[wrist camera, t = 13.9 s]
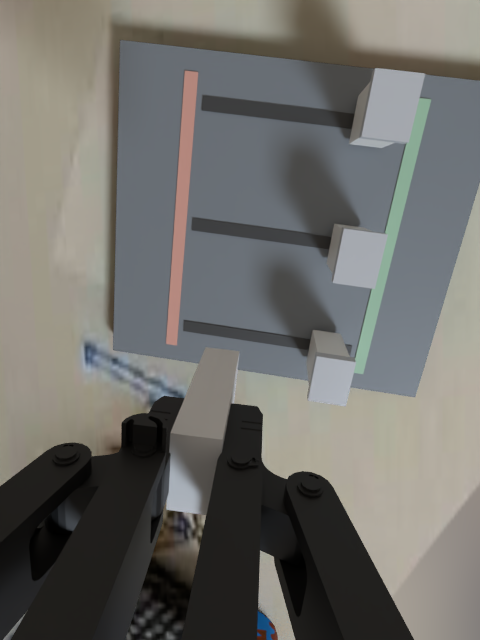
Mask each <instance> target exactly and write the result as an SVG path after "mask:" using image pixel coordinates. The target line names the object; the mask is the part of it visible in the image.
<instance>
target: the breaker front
mask: <svg viewBox="0 0 480 640" xmlns="http://www.w3.org/2000/svg"><path fill="white" fill-rule="evenodd" d="M424 77H425V73H417V72H408V71H399V70H390V69H381V68H375V69H374V70H373V71H372V76H371V81H370V82H369V84H368V85H367V86H366V87H365V88H364V90H363V91H362V92H361V93H360V94H359V96H358V100H357V105H356V110H355V115H354V120H353V125H352V130H351V136H350V141H349V144H352V145H361V146H369V147H377V148H383V147H386V146H388V145H391V144H393V143H402V144H406V143H409V140H410V136H411V131H412V127H413V123H414V119H415V115H416V111H417V106H418V102H419V98H420V94H421V90H422V85H423V81H424Z"/></svg>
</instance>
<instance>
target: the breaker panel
mask: <svg viewBox="0 0 480 640" xmlns="http://www.w3.org/2000/svg"><path fill="white" fill-rule="evenodd" d="M373 70H374V69H372V68H363V67H354V66H345V65H336V64H328V63H319V62H310V61H301V60H292V59H284V58H275V57H266V56H257V55H248V54H240V53H231V52H222V51H213V50H204V49H196V48H187V47H178V46H169V45H160V44H152V43H143V42H134V41H125V40H120V69H119V113H118V157H117V201H116V246H115V290H114V334H113V350H116V351H122V352H128V353H135V354H141V355H148V356H154V357H160V358H167V359H173V360H180V361H186V362H192V363H199V362H200V360H201V357H202V355H203V352H204V350H205V348H206V347H208V348H216V349H225V350H233V351H239V361H238V370H243V371H250V372H256V373H263V374H269V375H275V376H282V377H288V378H295V379H301V380H307V381H309V380H308V373H307V366H306V361H307V356H308V351H309V346H310V341H311V336H312V331H313V330H319V331H325V332H332V333H339V334H341V336H342V339H343V341H344V344H345V346H346V349H347V351H348V354H349V356H350V357H353V358H355V361H356V366H355V370H354V374H353V378H352V382H351V386H350V387H352V388H359V389H365V390H371V391H378V392H384V393H391V394H397V395H403V396H410V397H415V396H416V392H417V389H418V386H419V382H420V379H421V376H422V372H423V369H424V366H425V362H426V359H427V356H428V352H429V349H430V346H431V342H432V339H433V336H434V333H435V329H436V326H437V323H438V319H439V316H440V313H441V309H442V306H443V303H444V299H445V296H446V293H447V289H448V286H449V283H450V279H451V276H452V273H453V269H454V266H455V263H456V259H457V256H458V253H459V249H460V246H461V243H462V239H463V236H464V233H465V230H466V226H467V223H468V220H469V216H470V213H471V210H472V206H473V203H474V200H475V196H476V193H477V190H478V186H479V183H480V81H477V80H468V79H460V78H451V77H442V76H433V75H425V77H424V81H423V85H422V90H421V94H420V98H419V102H418V106H417V111H416V115H415V119H414V123H413V127H412V131H411V136H410V140H409V143H406V144H402V143H393V144H391V145H388V146H386V147H383V148H377V147H369V146H361V145H352V144H349V141H350V136H351V130H352V125H353V120H354V115H355V110H356V105H357V100H358V96H359V94H360V93H361V92H362V91H363V90H364V88H365V87H366V86H367V85H368V84H369V82H370V81H371V76H372V71H373ZM334 224H341V225H349V226H356V227H363V228H366V229H369V230H371V231H373V232H380V233H386V234H388V237H387V241H386V245H385V249H384V253H383V257H382V262H381V266H380V270H379V274H378V278H377V282H376V287H375V289H371V288H364V287H357V286H350V285H343V284H336V283H333V282H332V281H331V280H332V275H333V274H332V272H331V270H330V269H329V267H328V265H327V264H326V263H327V258H328V253H329V248H330V243H331V238H332V233H333V228H334Z"/></svg>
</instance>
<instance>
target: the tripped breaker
mask: <svg viewBox="0 0 480 640" xmlns="http://www.w3.org/2000/svg"><path fill="white" fill-rule="evenodd" d="M387 237H388V234H386V233H380V232H373V231H371V230H369V229H366V228H363V227H356V226H349V225H341V224H334V228H333V233H332V238H331V243H330V248H329V253H328V258H327V263H326V264H327V265H328V267H329V269H330V270H331V272H332V274H333V275H332V280H331V281H332V282H333V283H336V284H343V285H350V286H357V287H364V288H371V289H375V287H376V282H377V278H378V274H379V270H380V266H381V262H382V257H383V253H384V249H385V245H386V241H387Z"/></svg>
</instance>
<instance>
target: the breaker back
mask: <svg viewBox="0 0 480 640" xmlns="http://www.w3.org/2000/svg"><path fill="white" fill-rule="evenodd" d="M306 366H307V373H308V380H309V389H308V394H307V398H308V401H315V402H321V403H327V404H333V405H340V406H346V403H347V399H348V395H349V391H350V386H351V382H352V378H353V374H354V370H355V366H356V361H355V358H353V357H350V356H349V354H348V351H347V349H346V346H345V344H344V341H343V339H342V336H341V334H339V333H332V332H325V331H319V330H313V331H312V336H311V341H310V346H309V351H308V356H307V361H306Z"/></svg>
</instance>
